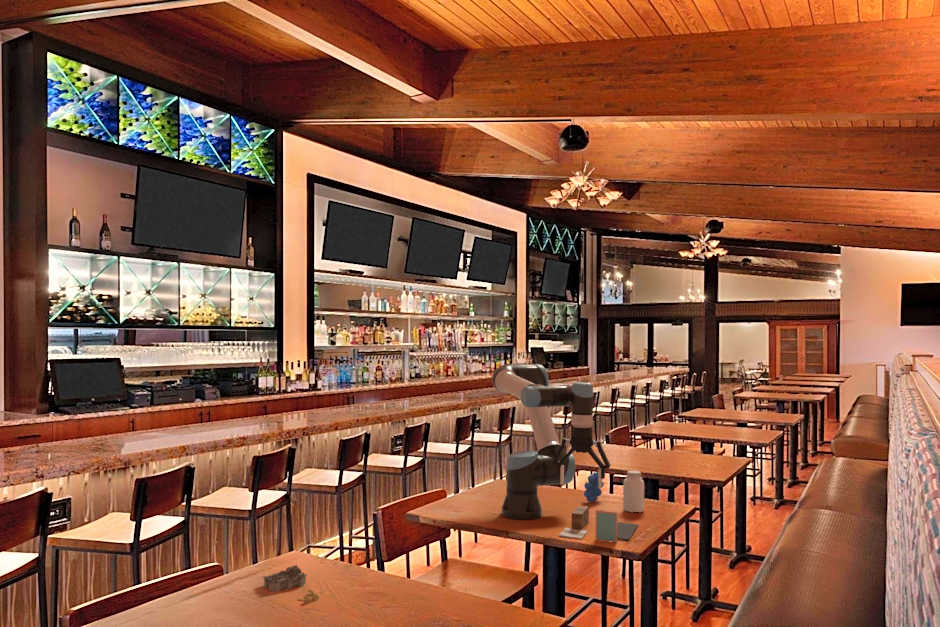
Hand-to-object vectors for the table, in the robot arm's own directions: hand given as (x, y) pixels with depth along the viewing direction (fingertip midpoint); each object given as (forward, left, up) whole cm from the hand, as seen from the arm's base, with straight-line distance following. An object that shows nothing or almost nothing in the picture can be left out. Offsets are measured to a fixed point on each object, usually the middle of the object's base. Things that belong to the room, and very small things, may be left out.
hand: (580, 486), depth 265 cm
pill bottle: (+14, +32, -15) cm, 38 cm away
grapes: (-4, +40, -15) cm, 43 cm away
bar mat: (+14, 0, -15) cm, 20 cm away
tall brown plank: (0, -3, -15) cm, 15 cm away
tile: (+12, -13, -15) cm, 23 cm away
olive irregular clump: (-50, -96, -16) cm, 109 cm away
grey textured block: (-61, -90, -15) cm, 110 cm away
